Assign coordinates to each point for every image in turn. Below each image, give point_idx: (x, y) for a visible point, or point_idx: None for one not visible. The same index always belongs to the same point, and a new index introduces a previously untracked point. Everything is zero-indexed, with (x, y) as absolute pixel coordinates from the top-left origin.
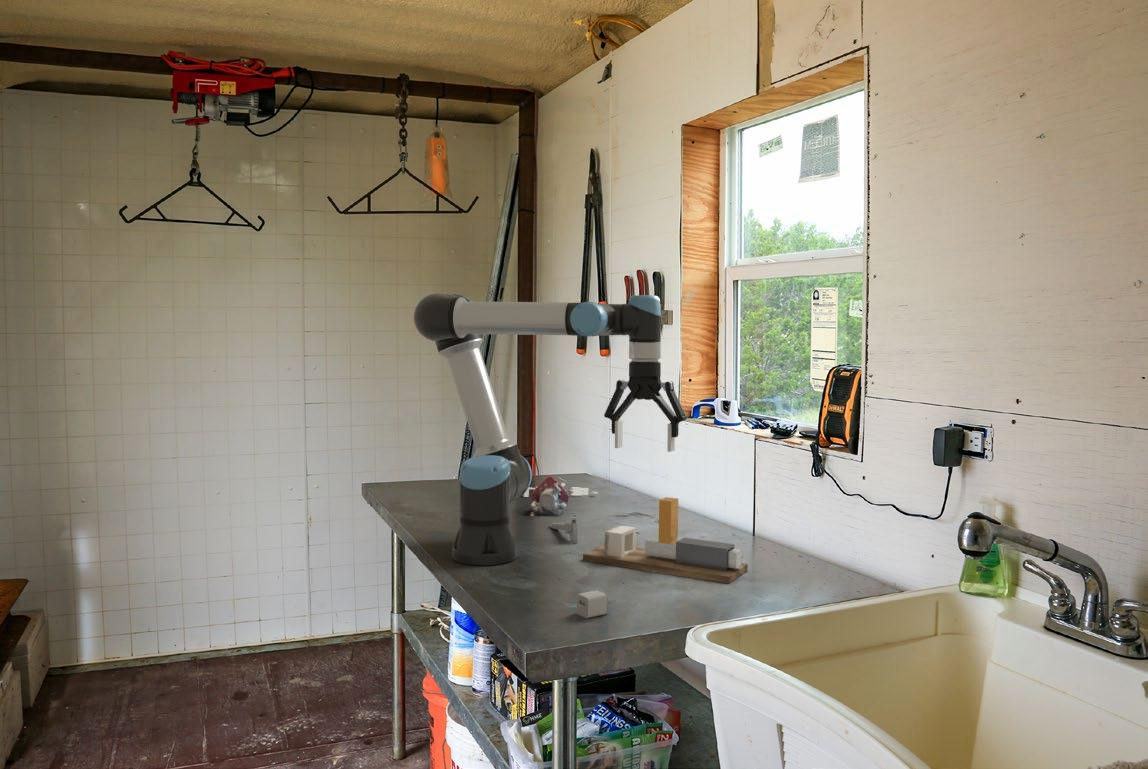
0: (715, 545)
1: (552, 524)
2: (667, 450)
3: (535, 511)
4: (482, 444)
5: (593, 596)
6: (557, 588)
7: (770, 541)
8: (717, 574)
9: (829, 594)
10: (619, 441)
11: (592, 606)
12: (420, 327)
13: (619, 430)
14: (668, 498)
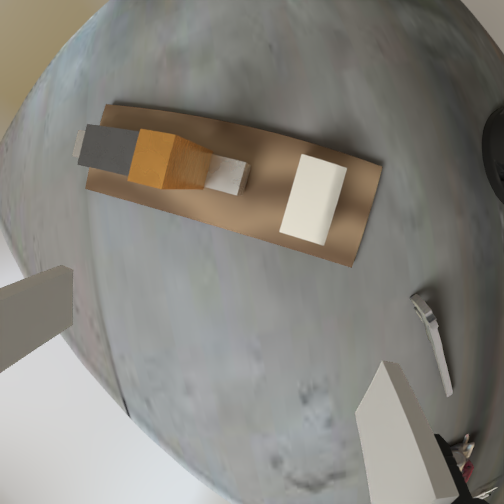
0: (102, 141)
1: (451, 388)
2: (69, 271)
3: (464, 443)
4: None
5: None
6: (362, 6)
7: (96, 369)
8: (120, 107)
9: (25, 122)
10: (379, 406)
11: None
12: None
13: (395, 459)
14: (152, 171)
